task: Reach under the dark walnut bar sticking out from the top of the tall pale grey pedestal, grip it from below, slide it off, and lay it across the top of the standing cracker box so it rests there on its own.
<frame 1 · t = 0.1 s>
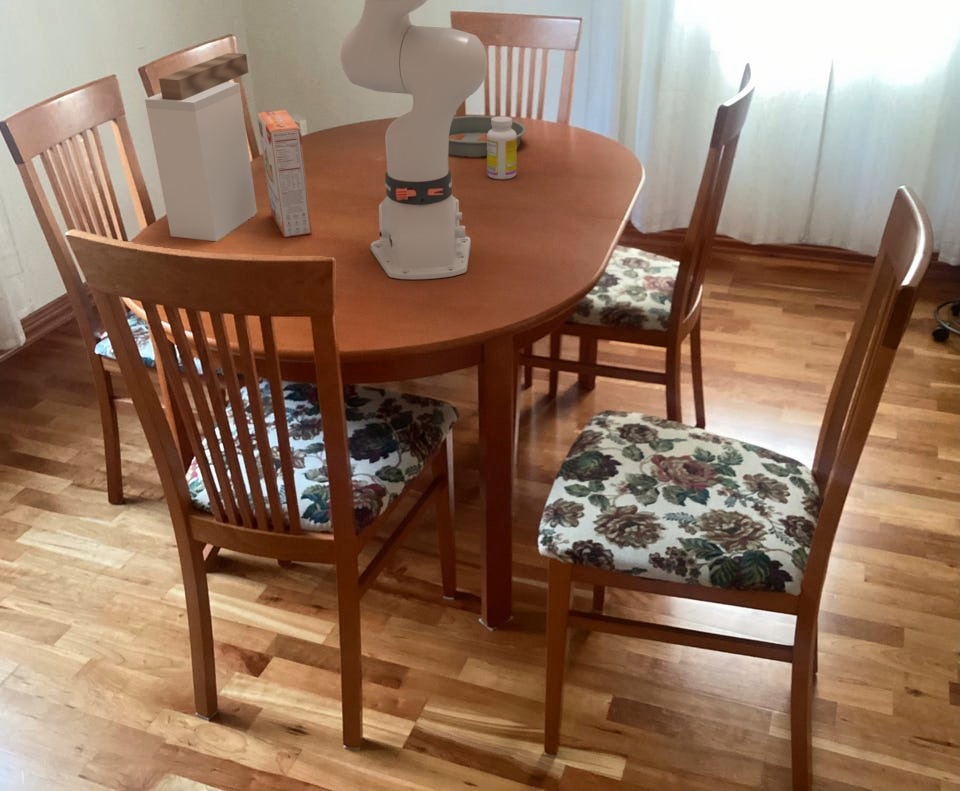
supplement bottle: (501, 176, 209), on the table
cake pan: (476, 146, 231), on the table
cracker box: (290, 225, 183), on the table
walnut bar: (207, 84, 174), point 26 cm above the table, touching grey pedestal
grey pedestal: (215, 224, 183), on the table
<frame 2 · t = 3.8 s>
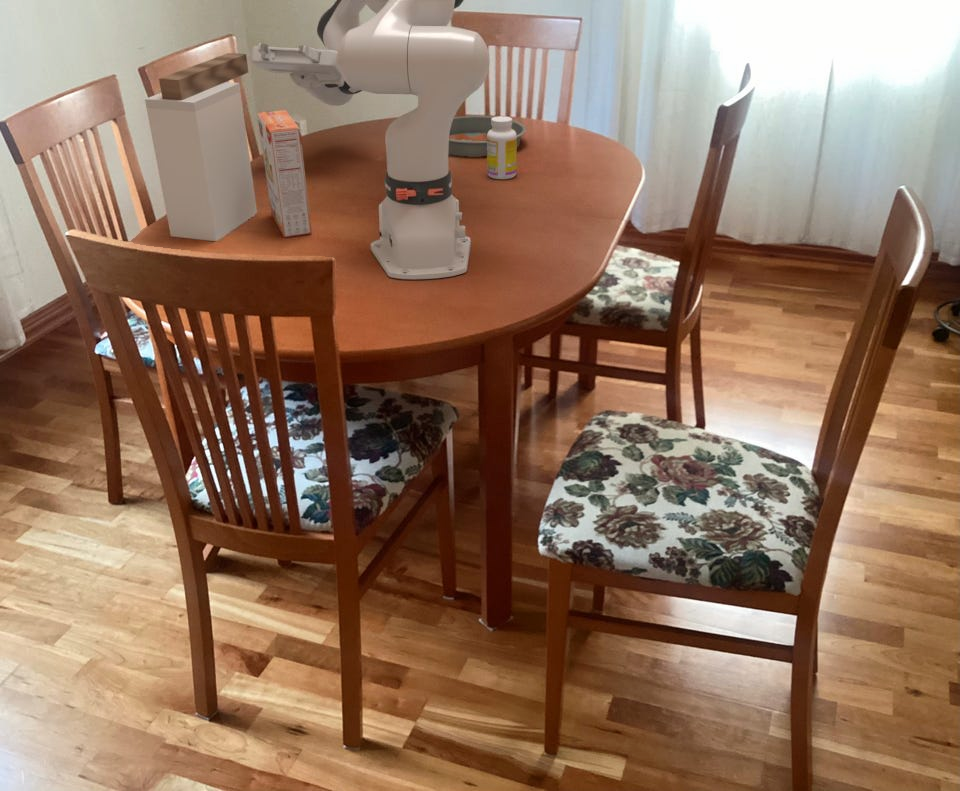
hand: (281, 48, 192), 29 cm above the table, tool pointing upward, fingers open, 8 cm apart
nothing on the table moved.
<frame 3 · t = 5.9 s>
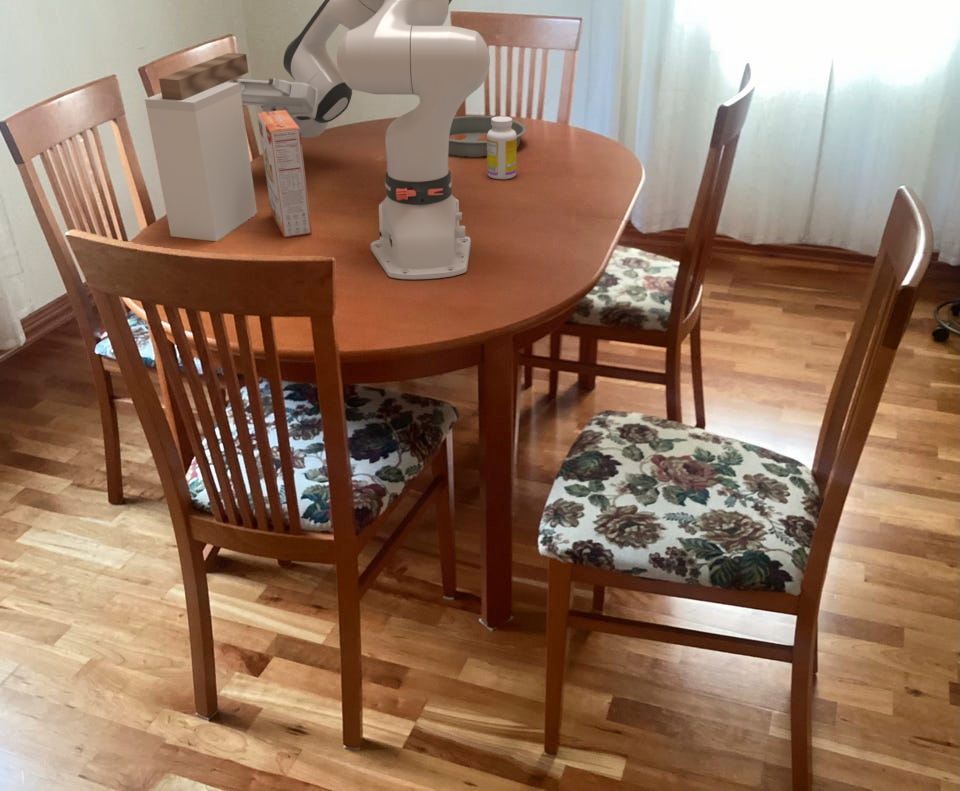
hand: (251, 80, 188), 23 cm above the table, tool pointing upward, fingers open, 8 cm apart
nothing on the table moved.
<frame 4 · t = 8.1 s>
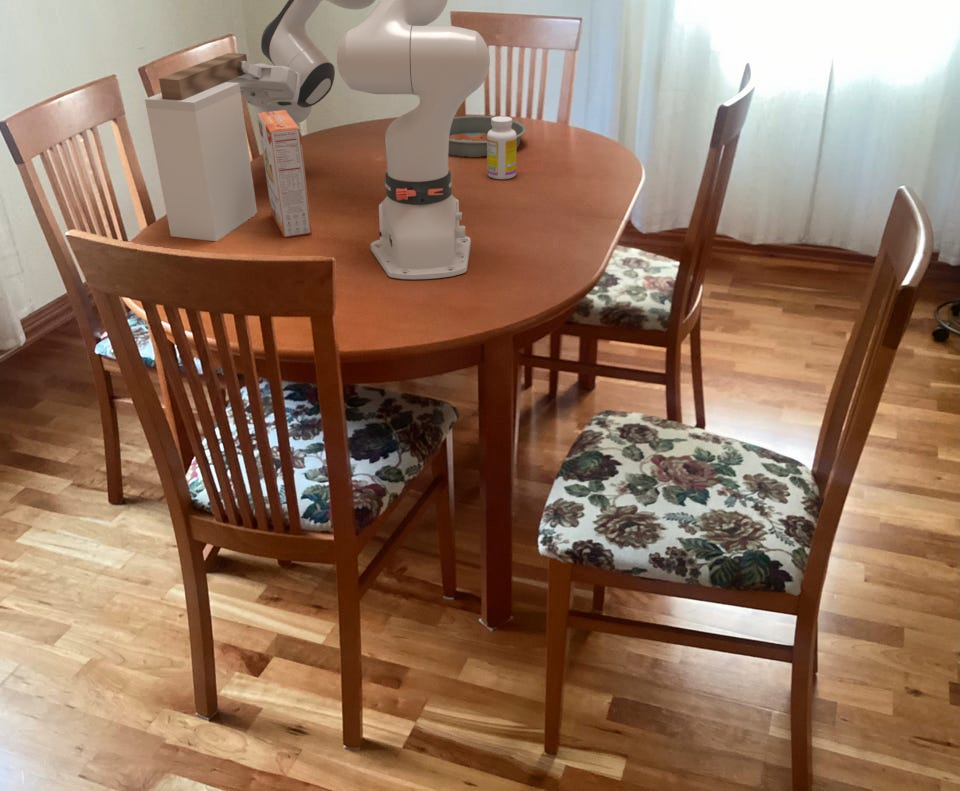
hand: (228, 63, 180), 28 cm above the table, tool pointing upward, fingers closed on walnut bar, 4 cm apart
walnut bar: (207, 84, 174), point 26 cm above the table, touching grey pedestal, gripper
everything else where it was.
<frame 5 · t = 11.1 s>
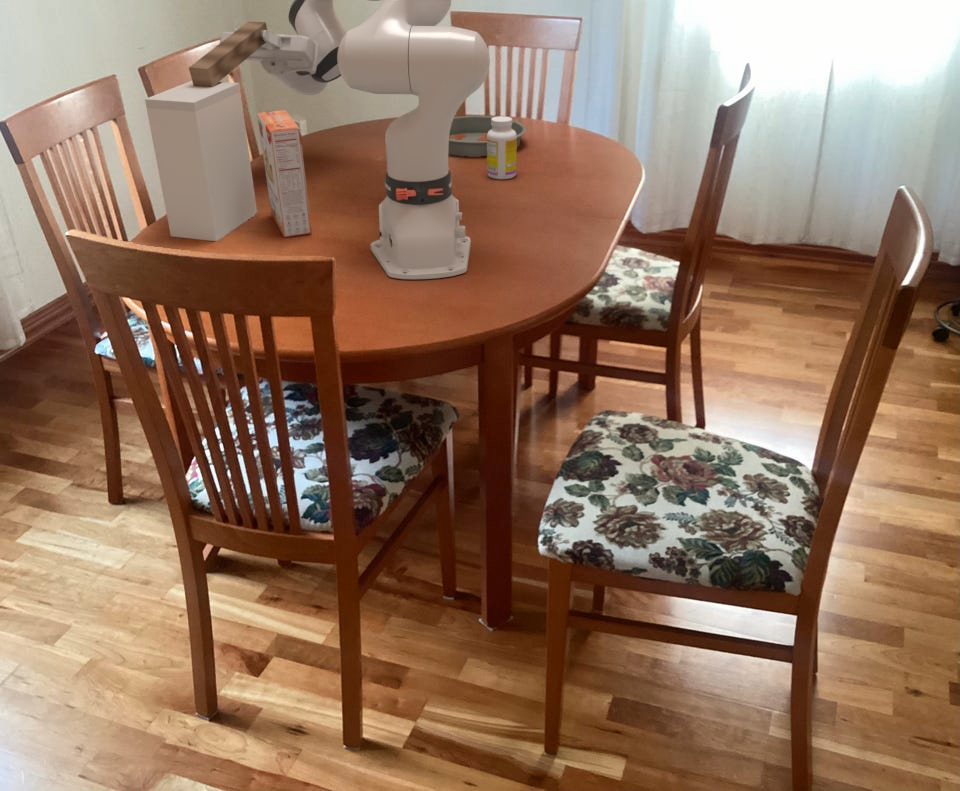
hand: (249, 33, 186), 32 cm above the table, tool pointing upward, fingers closed on walnut bar, 4 cm apart
walnut bar: (233, 61, 181), point 28 cm above the table, tilted 11°, touching gripper
everything else where it was.
when the fingers open (25 cm above the table, at t = 14.1 s): walnut bar stays where it is, resting on cracker box.
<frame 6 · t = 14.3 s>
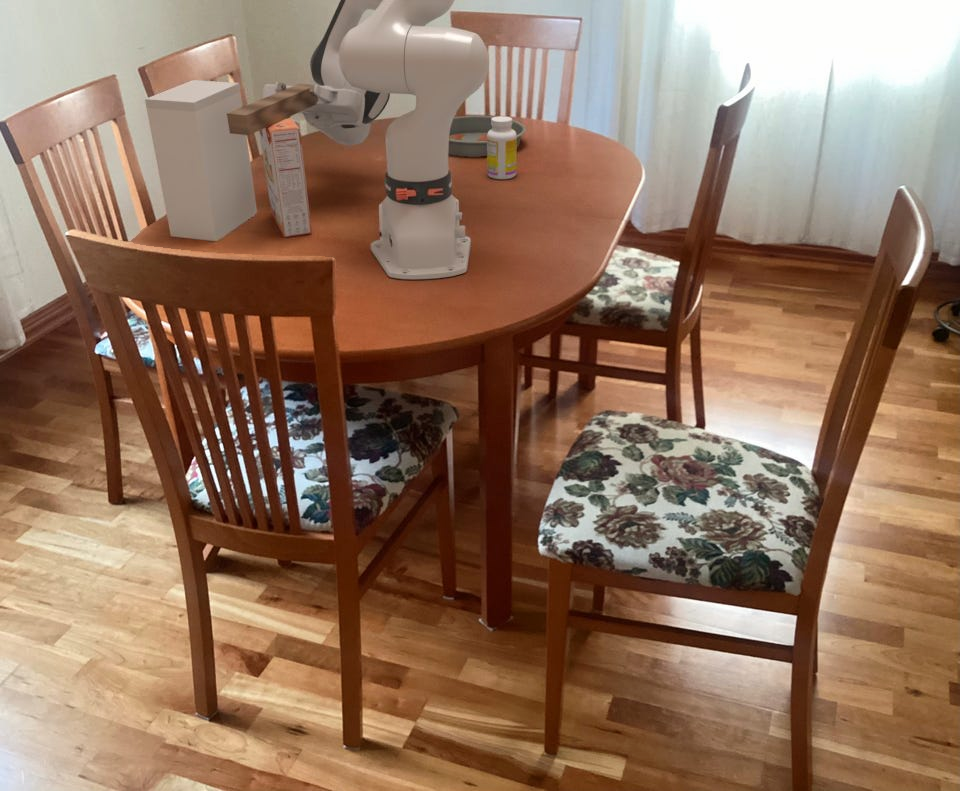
hand: (295, 87, 177), 25 cm above the table, tool pointing upward, fingers open, 6 cm apart
cracker box: (290, 225, 183), on the table, touching walnut bar
walnut bar: (276, 117, 173), point 21 cm above the table, touching cracker box
everything else where it was.
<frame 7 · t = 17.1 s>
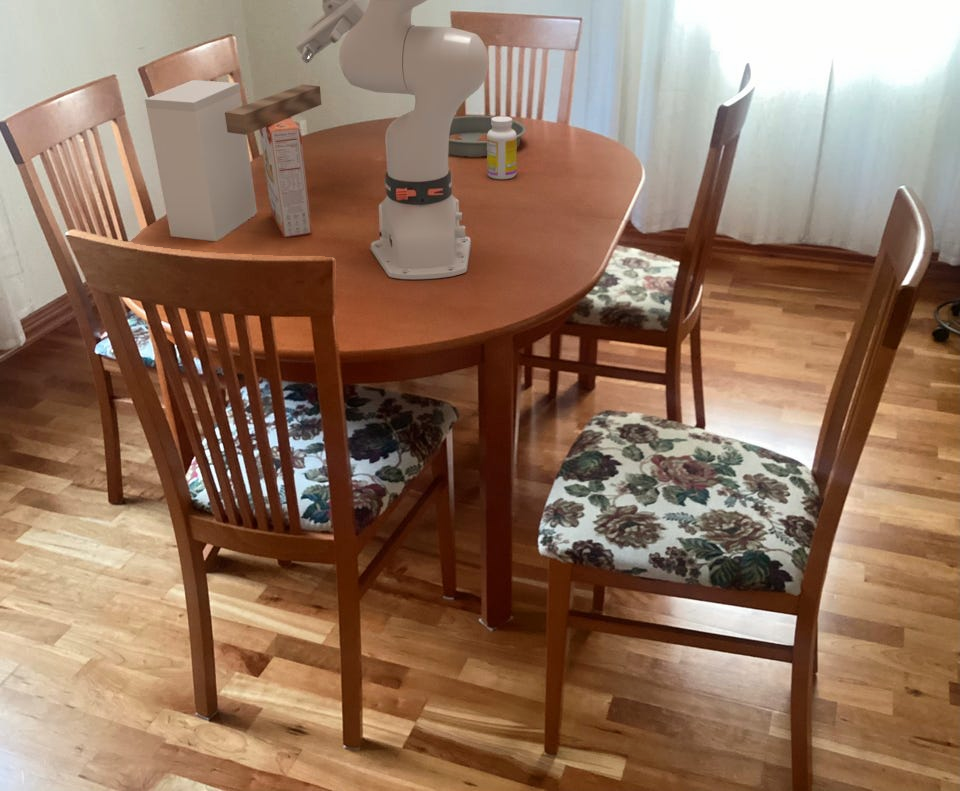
hand: (319, 49, 180), 31 cm above the table, tool tilted 65°, fingers open, 8 cm apart
nothing on the table moved.
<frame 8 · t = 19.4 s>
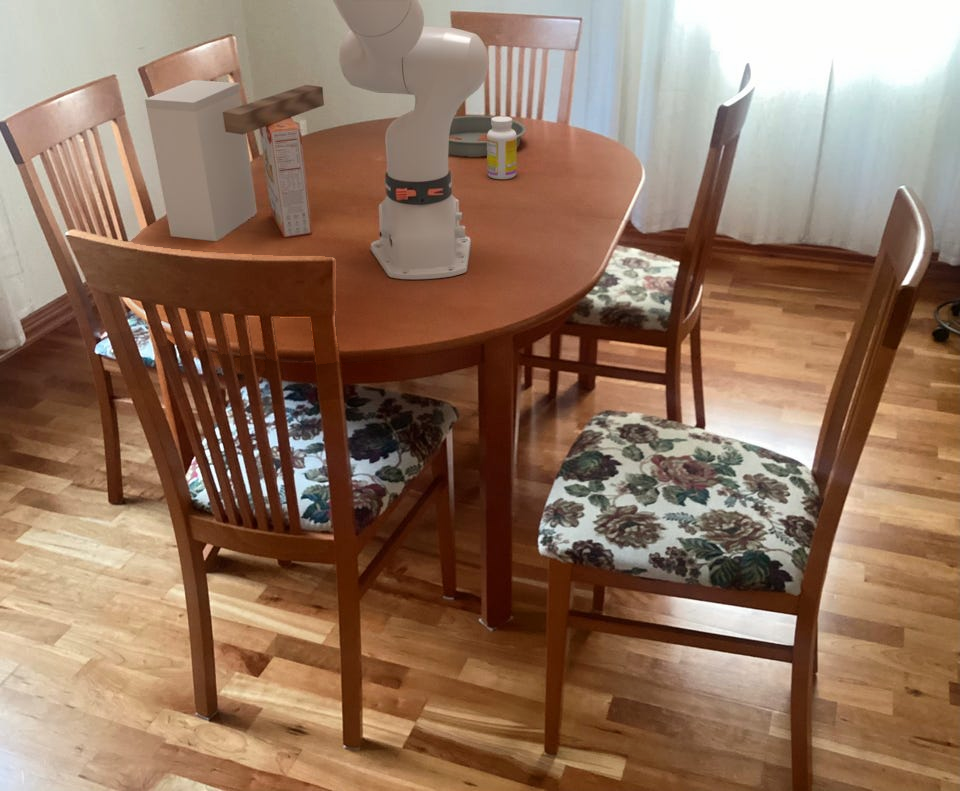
hand: (347, 1, 177), 39 cm above the table, tool pointing down, fingers open, 8 cm apart
nothing on the table moved.
at the end: walnut bar inside the target area on the cracker box (0.7 cm from its centre), point 21.1 cm above the cracker box's base; the gripper is holding nothing; cracker box tilted 0° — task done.
